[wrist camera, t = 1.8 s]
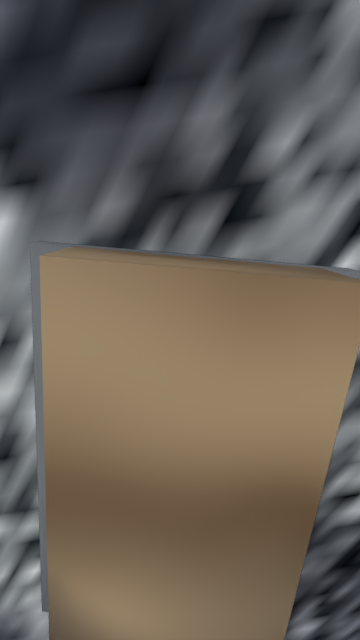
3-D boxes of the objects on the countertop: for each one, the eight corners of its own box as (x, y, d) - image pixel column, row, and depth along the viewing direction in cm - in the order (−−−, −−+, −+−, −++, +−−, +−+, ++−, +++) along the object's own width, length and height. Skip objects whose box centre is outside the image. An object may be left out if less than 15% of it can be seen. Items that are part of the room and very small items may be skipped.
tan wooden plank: (249, 616, 12) (267, 703, 9) (72, 612, 11) (50, 702, 9) (321, 268, 8) (374, 284, 6) (73, 246, 8) (39, 255, 6)
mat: (272, 598, 12) (277, 616, 12) (48, 592, 12) (42, 611, 11) (348, 268, 9) (360, 271, 8) (39, 241, 8) (29, 242, 8)
